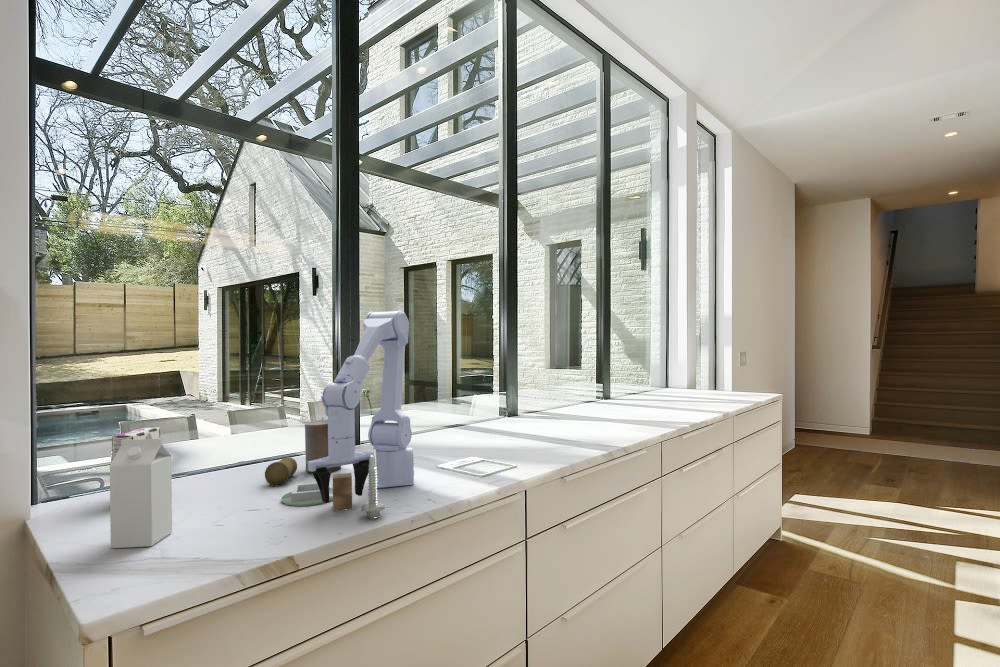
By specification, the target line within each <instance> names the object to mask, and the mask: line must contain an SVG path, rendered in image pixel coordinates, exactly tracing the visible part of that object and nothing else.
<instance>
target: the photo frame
mask: <svg viewBox="0 0 1000 667" xmlns="http://www.w3.org/2000/svg"><path fill="white" fill-rule="evenodd" d="M485 461H486V463H491V464H496V465H502V466H506V467H504V468H500V469H496V470H493V471H490V472H489V471H488V472H485V473H482V474H481V473H480V474H479V473H476V472H471V471H466V470H463V469H462V470H461V469H458V467H459V468H462V466H463V467H466V465H467V466H470V464H471V465H473V464H478V463H481V462H485ZM435 467H436V468H437V467H440V468H439V469H441V468H444V469H443V470H446V469H447V470H446V471H450V470H452V471H451V472H455V471H456V472H455V473H459V472H461V474H464V473H466V474H465V475H468V474H470V475H469V476H473V475H475V476H474V477H477V476H479V477H478V478H483V476H485V477H487V475H488V476H491V475H494V474H493V473H495V474H498V473H501V471H502V472H505V471H508V470H511V469H514V468H518V464H513V463H507V462H503V461H498V460H491V459H486V458H481V457H475V456H469V457H466V458H461V459H457V460H455V461H449V462H446V463H441V464H438V465H436V466H435ZM454 468H455V469H454ZM504 470H505V471H504ZM497 472H498V473H497ZM490 474H491V475H490Z"/></svg>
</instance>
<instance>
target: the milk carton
mask: <svg viewBox="0 0 1000 667" xmlns="http://www.w3.org/2000/svg"><path fill="white" fill-rule="evenodd" d="M162 441H163V440H162V438H160V439H130V440H121V447H120V449H119V450H118V452H117V454H116V456H115V457H114V459H113V461H111V463H110V464H109V498H110V499H109V501H110V502H109V507H110V508H109V512H110V513H109V514H110V515H109V516H110V517H109V518H110V520H109V521H110V548H111V549H121V548H122V549H124V548H127V549H128V548H144V547H152V546H154V545H155V544H157V543H158V542H160V541H161V540H163V539H164V538H166V537H168V536H169V535H170V534H172V533H173V498H172V496H173V495H172V492H173V491H172V490H173V489H172V488H173V487H172V483H173V482H172V479H173V478H172V455H171V454H170V452H169V451H168V450H167V449H166V448H165V446H164V445H163V444H162V443H163V442H162Z"/></svg>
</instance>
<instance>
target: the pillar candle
mask: <svg viewBox="0 0 1000 667" xmlns="http://www.w3.org/2000/svg"><path fill="white" fill-rule="evenodd" d="M304 438H305V439H304V441H305V442H304V445H305V446H304V447H305V448H304V449H305V453H304V454H305V472H306V473H308V474H312V473H311V471H309V470H308V461H312V460H317V459H321V458H324V457H328V419H324V417H322V419H318V420H313V421H312V420H311V421H308V422H305V423H304ZM341 469H342V466H337V467H331V468H326V470H328V472H329V473H333V472H337V471H339V470H341Z"/></svg>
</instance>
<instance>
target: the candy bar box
mask: <svg viewBox="0 0 1000 667" xmlns="http://www.w3.org/2000/svg"><path fill="white" fill-rule="evenodd" d="M130 439H161V427H158V426H157V427H155V426H154V427H153V426H152V427H139V428H137V429H133V430H129V431H127V432H126V431H125V432H124V433H120V434H117V435H113V436H111V445H112V446H111V450H112V451H111V454H112V458H111V459H112V461H113V459H114V457H115V456H116V454H117V452H118V450H119V449H120V447H121V440H130ZM112 461H111V462H112Z"/></svg>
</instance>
